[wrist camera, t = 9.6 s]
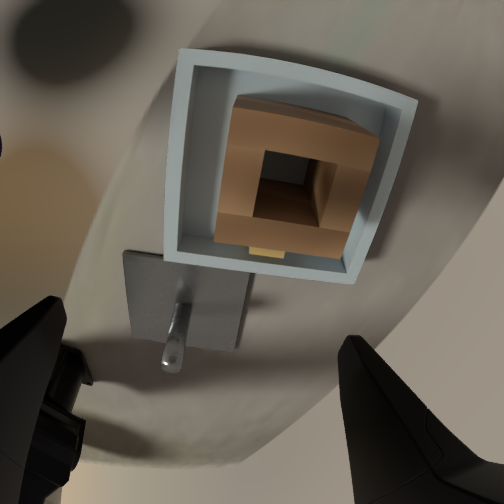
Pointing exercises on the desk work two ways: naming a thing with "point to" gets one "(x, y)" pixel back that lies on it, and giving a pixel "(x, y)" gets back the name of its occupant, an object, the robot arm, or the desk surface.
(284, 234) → the wooden block with hole
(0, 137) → the toy lamp
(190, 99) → the tray
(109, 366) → the desk surface
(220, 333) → the grey peg stand
